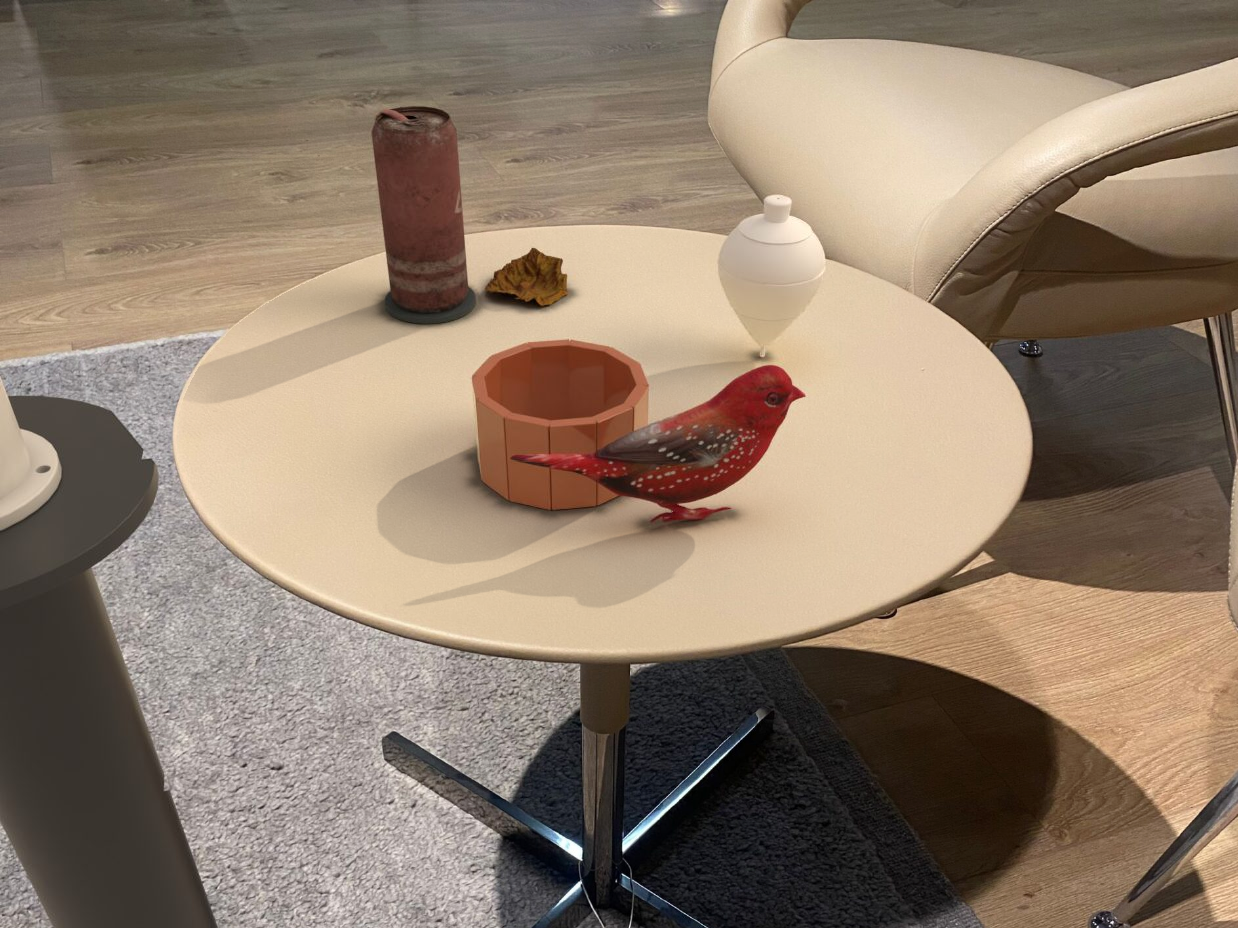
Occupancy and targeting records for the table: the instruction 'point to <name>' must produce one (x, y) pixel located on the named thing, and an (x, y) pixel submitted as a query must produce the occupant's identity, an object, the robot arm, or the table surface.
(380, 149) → the can
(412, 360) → the table surface
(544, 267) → the leaf
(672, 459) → the decorative bird figurine
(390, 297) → the coaster
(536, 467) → the pot
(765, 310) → the spinning top
